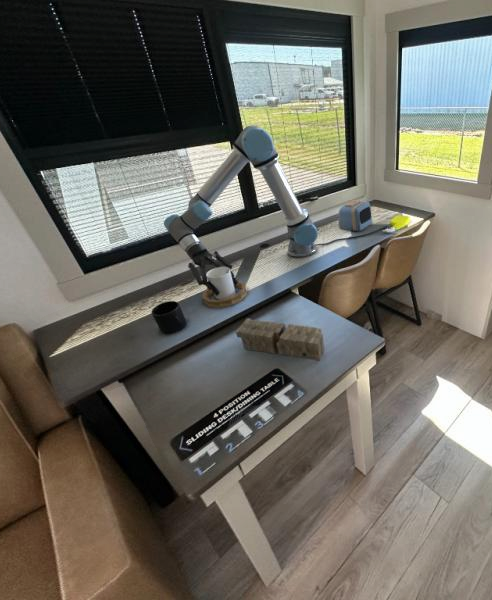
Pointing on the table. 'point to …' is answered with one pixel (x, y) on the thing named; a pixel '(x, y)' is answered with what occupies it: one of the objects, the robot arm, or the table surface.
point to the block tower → (282, 338)
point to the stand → (227, 301)
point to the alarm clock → (355, 215)
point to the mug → (169, 317)
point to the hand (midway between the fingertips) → (227, 288)
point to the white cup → (222, 282)
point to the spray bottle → (398, 223)
